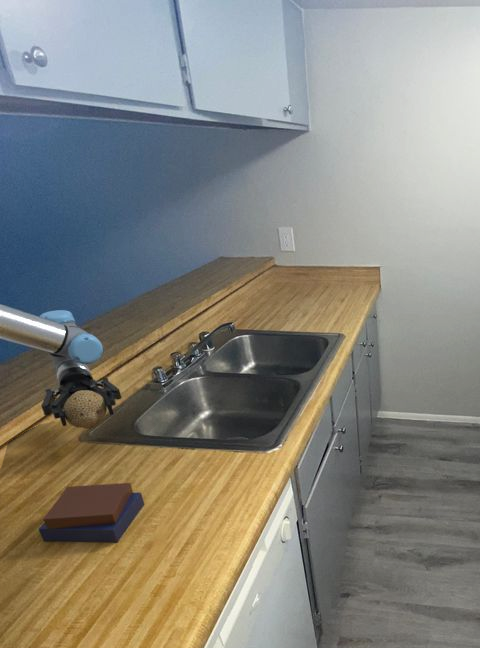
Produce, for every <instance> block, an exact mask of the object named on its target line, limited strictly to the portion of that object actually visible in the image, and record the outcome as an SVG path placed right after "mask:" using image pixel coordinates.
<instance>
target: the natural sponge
mask: <svg viewBox="0 0 480 648" xmlns="http://www.w3.org/2000/svg"><path fill="white" fill-rule="evenodd" d="M107 411H108V408H107V406H106V402H105V400H104V398H103V397H102V396H101V395H100V394H98V393H95V392H93V391H89V390H81V391H77V392H75V393H74V394H72V395H71V396H70V397H69V398H68V399H67V401H66V403H65V405H64V408H63V413H64V416H65V420H66V422H67V423H68V424H69V425H71V426H72V427H74V428H81V429H82V428H83V429H89V430H90V429H91V430H92V429H94V428H96V427H97V426H99V424H100V423H101V422H103V421H104V419H105V417H106V415H107Z"/></svg>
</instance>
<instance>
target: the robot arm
mask: <svg viewBox="0 0 480 648" xmlns="http://www.w3.org/2000/svg"><path fill="white" fill-rule="evenodd" d="M0 339H1V340H4V341H8V342H11V343H15V344H19V345H22V346H26V347H29V348H32V349H33V348H34V349H38V350H41V351H45V352H48V353H49V354H50V358H51V361H52V364H53V367H54V370H55V374H56V378H57V381H58V385H59V387H58V388H57V389H56V390H54V389H51V388H46V389H45V390H44V392H45V396H44V398H43V401H42V403H41V409H42V412H43V415H44V416H50V415H51V414H52V416H53V418H54V419H55V420H57V419H60V421H61V425H62V427H66V426H68V425H67V420H66V418H65V416H64V413H63V408H64V405H65V403H66V401H67V399H68V398H69V397H70V396H71V395H72V394H74V393H75V392H77V391H81V390H89V391H93V392H95V393H98V394H100V395H101V396H102V397H103V398H104V400H105V402H106V406H107V411H108V412H109V415H110V416H113V415H115V413H114V409H113V406H116V405H117V403H116V400H121V399H122V394H121V390H120V388H119V387H117V386H116V385H114V384H113V383H112V382H111V381H110V380H109V378H108V377H103V378H102V380H100V381H97V380H95V379H94V377H93V375H92V372H91V369H90V367H89V365H90V364H94V363H96V362H97V361H98V360H99V359H101V357H102V355H103V353H104V352H103V351H104V347H103V344H102V342H101V341H100V339H98V337H96V336H95V335H94V334H91V333H89V332H87V331H86V330H84V329H82V327H79V326H77V324H76V319H75V318H74V315H73V313H72V312H71V311H68V310H65V309H58V310H50V311H45V312H44V313H41V314H40V315H39V316H38V315H35V314H32V313H29V312H26V311H23V310H21V309H17V308H14V307H11V306H9V305H5V304H2V303H0Z"/></svg>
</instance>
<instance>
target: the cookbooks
mask: <svg viewBox="0 0 480 648" xmlns="http://www.w3.org/2000/svg"><path fill="white" fill-rule="evenodd" d="M132 487H133V486H132V485H131V482H122V483H107V484H106V483H105V484H90V485H74V486H66V488H65V489H64V490H63V492H62V493H61V494H60V496H59V497H58V499H56V501H55V503H54V504H53V505H52V506H51V508H50V509H49V511H48V512H47V513H46V515H45V516H44V517H43V523H42V524H41V525H40V526H39V527H38V531H39V534H40V536H41V539H42V541H43V542H62V543H63V542H67V543H68V542H69V543H73V542H74V543H78V542H79V543H118V542H119V541H120V539H122V538H123V535H125V533H126V532H127V530H128V528H130V525H131V524H132V523H133V521H134V520H135V519H136V517H137V516H138V514H139V513H140V512H141V510H142V509H143V507H144V505H145V501H144V498H143V494H142V492H134V491H133V488H132Z"/></svg>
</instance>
